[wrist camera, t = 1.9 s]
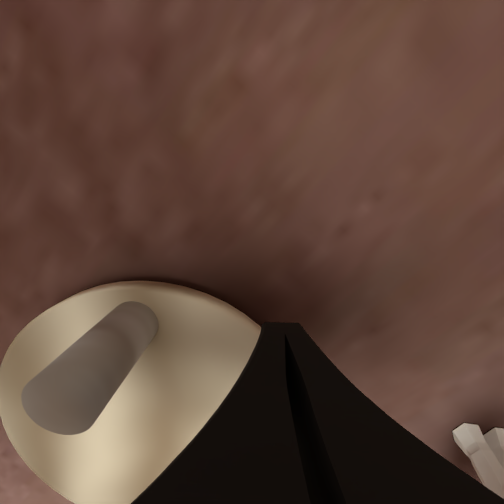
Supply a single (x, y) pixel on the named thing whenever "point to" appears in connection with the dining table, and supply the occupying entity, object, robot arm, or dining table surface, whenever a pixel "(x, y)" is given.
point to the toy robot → (484, 454)
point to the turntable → (119, 384)
